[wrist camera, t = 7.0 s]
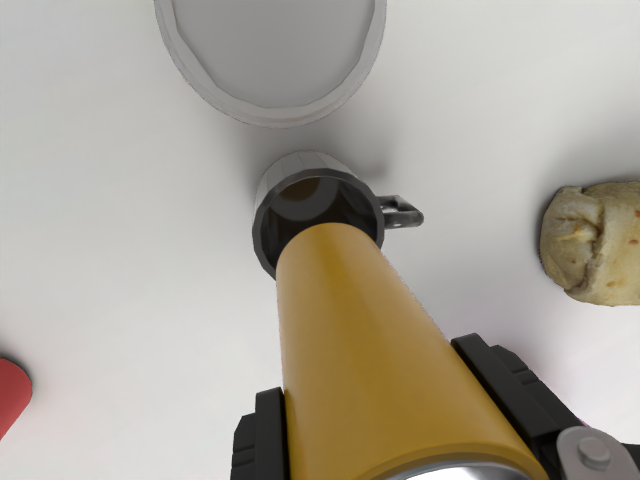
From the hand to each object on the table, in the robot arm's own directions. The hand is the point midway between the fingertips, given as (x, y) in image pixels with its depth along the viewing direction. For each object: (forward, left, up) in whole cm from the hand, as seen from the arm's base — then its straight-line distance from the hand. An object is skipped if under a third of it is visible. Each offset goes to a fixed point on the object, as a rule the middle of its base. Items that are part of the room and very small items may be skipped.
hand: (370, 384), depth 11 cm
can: (0, 0, -8) cm, 8 cm away
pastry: (+18, +21, -20) cm, 34 cm away
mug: (+1, +2, -20) cm, 20 cm away
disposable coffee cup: (-11, +4, -20) cm, 23 cm away
